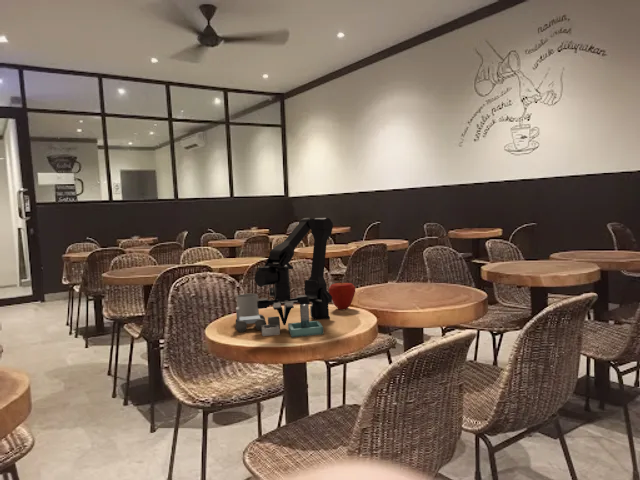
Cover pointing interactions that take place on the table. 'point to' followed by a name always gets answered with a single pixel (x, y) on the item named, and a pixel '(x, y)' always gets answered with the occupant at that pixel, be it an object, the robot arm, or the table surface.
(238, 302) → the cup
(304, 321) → the pin
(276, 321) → the dark grey cube
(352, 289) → the apple
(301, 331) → the tray
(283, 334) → the table surface
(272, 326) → the socket
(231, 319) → the table surface
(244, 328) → the trolley
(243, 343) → the table surface
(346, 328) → the table surface
